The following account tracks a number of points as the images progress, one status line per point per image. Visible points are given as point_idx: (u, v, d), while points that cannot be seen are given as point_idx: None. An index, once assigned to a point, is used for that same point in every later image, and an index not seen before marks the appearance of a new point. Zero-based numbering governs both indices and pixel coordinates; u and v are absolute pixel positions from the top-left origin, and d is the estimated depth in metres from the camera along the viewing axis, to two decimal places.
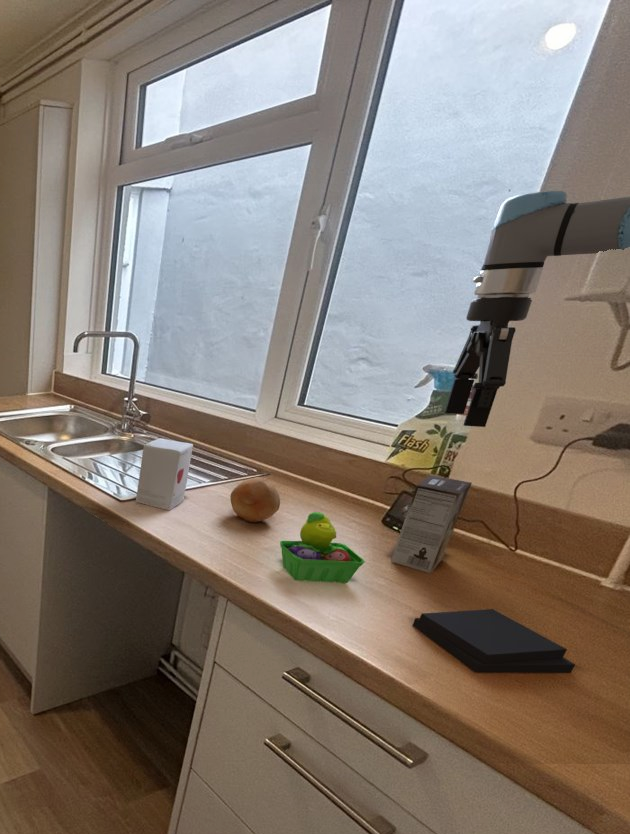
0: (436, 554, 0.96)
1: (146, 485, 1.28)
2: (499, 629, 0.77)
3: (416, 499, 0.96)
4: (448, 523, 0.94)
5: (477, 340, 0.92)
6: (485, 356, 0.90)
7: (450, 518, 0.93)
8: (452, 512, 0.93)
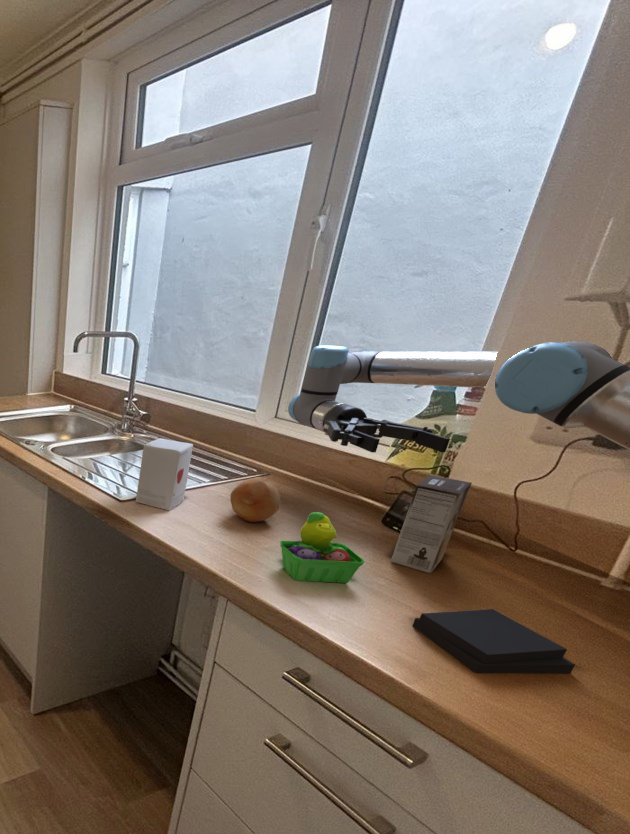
0: (436, 554, 0.96)
1: (146, 485, 1.28)
2: (499, 629, 0.77)
3: (416, 499, 0.96)
4: (448, 523, 0.94)
5: None
6: None
7: (450, 518, 0.93)
8: (452, 512, 0.93)
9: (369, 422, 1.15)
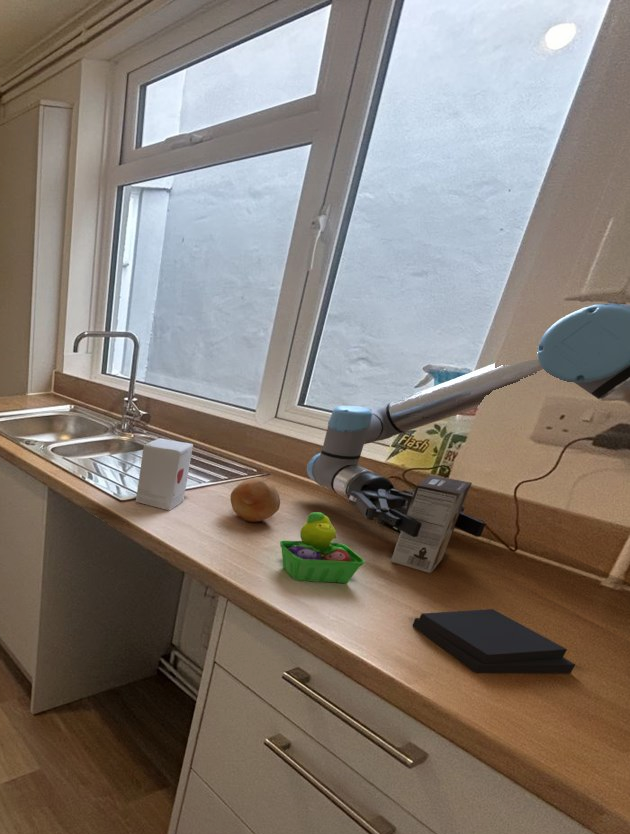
0: (436, 554, 0.96)
1: (146, 485, 1.28)
2: (499, 629, 0.77)
3: (416, 499, 0.96)
4: (448, 523, 0.94)
5: None
6: None
7: (450, 518, 0.93)
8: (452, 512, 0.93)
9: (397, 494, 1.08)
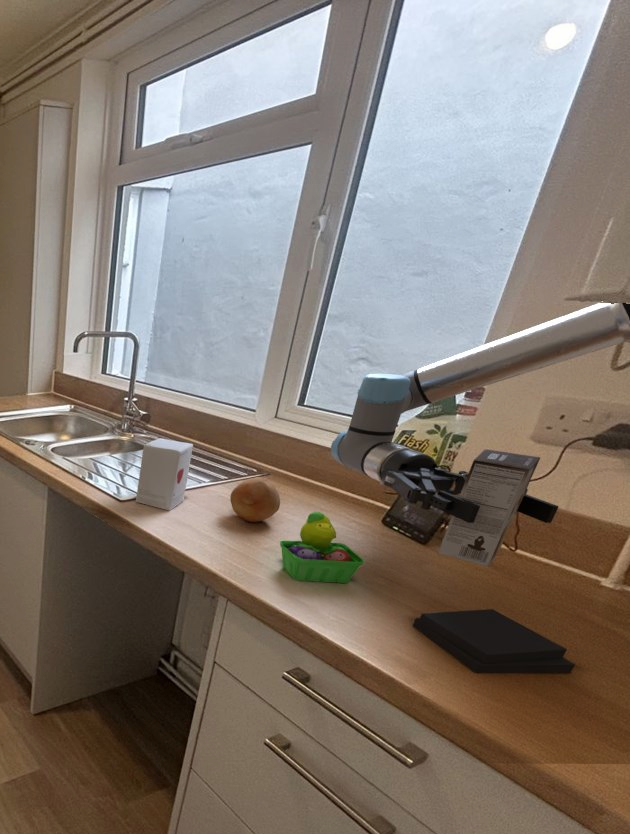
0: (496, 544, 0.79)
1: (146, 485, 1.28)
2: (499, 629, 0.77)
3: (472, 477, 0.79)
4: (513, 506, 0.77)
5: None
6: None
7: (516, 499, 0.76)
8: (519, 492, 0.76)
9: (443, 474, 0.91)
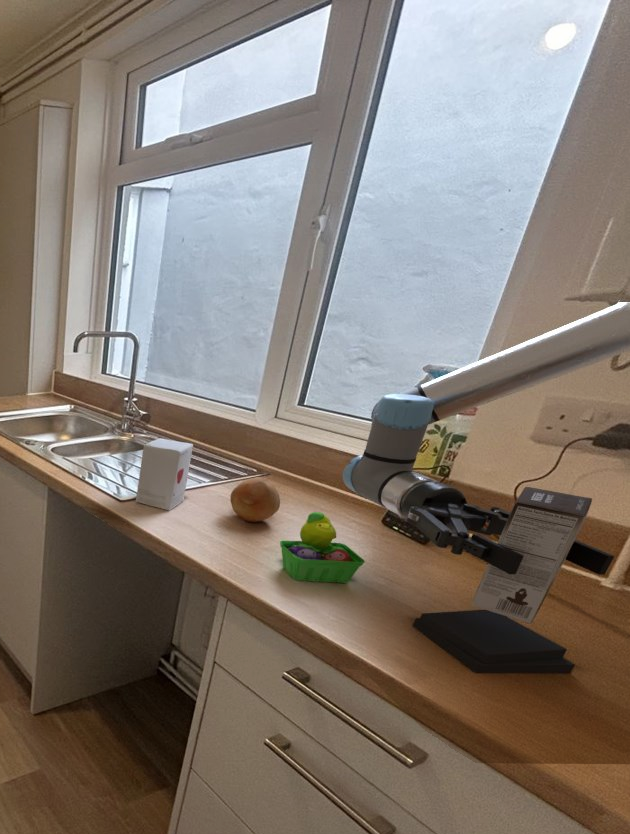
0: (542, 598, 0.69)
1: (146, 485, 1.28)
2: (499, 629, 0.77)
3: (514, 521, 0.69)
4: (563, 556, 0.66)
5: None
6: None
7: (566, 549, 0.66)
8: (570, 541, 0.65)
9: (473, 511, 0.81)
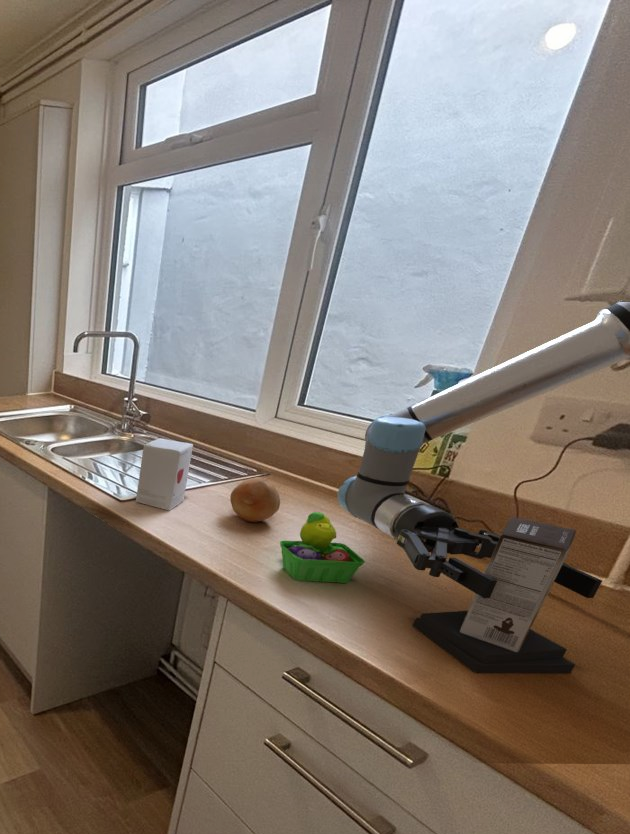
0: (527, 628, 0.70)
1: (146, 485, 1.28)
2: None
3: (500, 552, 0.70)
4: (547, 588, 0.68)
5: None
6: (432, 554, 0.81)
7: (551, 581, 0.67)
8: (554, 573, 0.67)
9: (464, 535, 0.82)
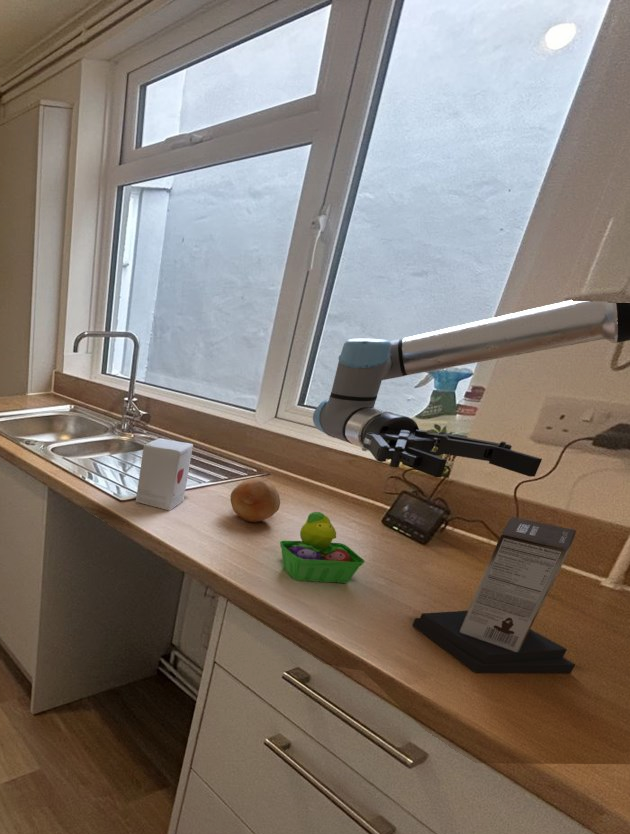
0: (527, 628, 0.70)
1: (146, 485, 1.28)
2: None
3: (500, 552, 0.70)
4: (547, 588, 0.68)
5: None
6: None
7: (551, 581, 0.67)
8: (554, 573, 0.67)
9: (424, 435, 0.89)
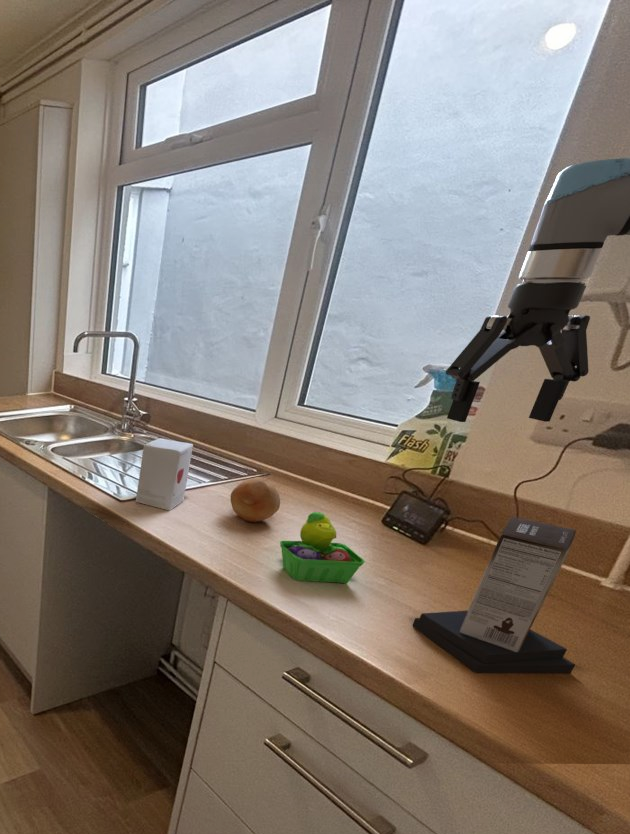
0: (527, 628, 0.70)
1: (146, 485, 1.28)
2: None
3: (500, 552, 0.70)
4: (547, 588, 0.68)
5: None
6: (490, 347, 0.84)
7: (551, 581, 0.67)
8: (554, 573, 0.67)
9: (548, 333, 0.81)
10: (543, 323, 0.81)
